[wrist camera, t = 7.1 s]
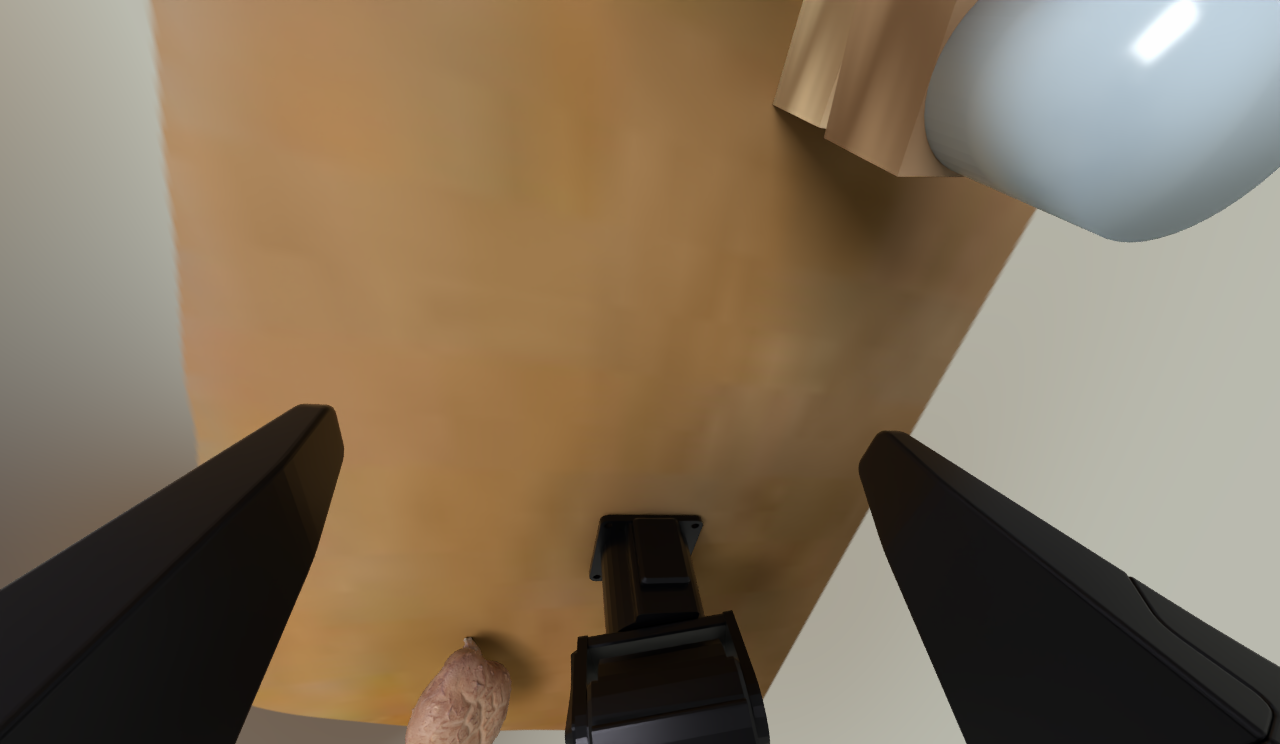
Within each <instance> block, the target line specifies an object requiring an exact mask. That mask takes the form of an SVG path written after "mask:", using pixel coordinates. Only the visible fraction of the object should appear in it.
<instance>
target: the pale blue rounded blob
mask: <svg viewBox="0 0 1280 744" xmlns="http://www.w3.org/2000/svg"><path fill="white" fill-rule="evenodd" d="M924 120H925V131H926V136H927V140H928V143H929V145H930V148H931V150H932V152H933V153H934V155H935V157H936V158H937V159H938V160H939V161H940V162H941V164H943V165H944V166H945V167H947V168H948V169H950V170H952V171H954V172H956V173H958V174H960V175H963V176H965V177H967V178H969V179H972V180H974V181H976V182H979V183H981V184H983V185H985V186H988V187H990V188H992V189H994V190H997V191H999V192H1001V193H1004V194H1006V195H1008V196H1010V197H1013V198H1015V199H1017V200H1020V201H1022V202H1024V203H1026V204H1029V205H1031V206H1033V207H1035V208H1038V209H1040V210H1042V211H1045V212H1047V213H1049V214H1052V215H1054V216H1056V217H1058V218H1060V219H1063V220H1065V221H1067V222H1070V223H1072V224H1074V225H1076V226H1079V227H1081V228H1084V229H1086V230H1088V231H1090V232H1092V233H1095V234H1097V235H1099V236H1102V237H1104V238H1106V239H1110V240H1114V241H1119V242H1141V241H1148V240H1153V239H1158V238H1161V237H1165V236H1168V235H1171V234H1174V233H1177V232H1179V231H1182V230H1184V229H1187V228H1189V227H1192V226H1194V225H1196V224H1198V223H1199V222H1202V221H1204V220H1206V219H1208V218H1209V217H1211V216H1213V215H1215V214H1216V213H1218V212H1220V211H1222V210H1223V209H1225V208H1226V207H1228V206H1230V205H1231V204H1232V203H1234V202H1236V201H1237V200H1238V199H1240V198H1242V197H1243V196H1244V195H1246V194H1247V193H1248V192H1249V191H1251V190H1252V189H1254V188H1255V187H1256V186H1258V185H1259V184H1260V183H1261V182H1263V181H1264V180H1265V179H1266V178H1267V177H1268V176H1270V175H1271V174H1272V173H1273V172H1274V171H1276V170H1277V169H1278V168H1279V167H1280V0H978V1H977V2H976V3H975V5H974V6H973V7H972V8H971V9H970V10H969V11H968V13H967V14H966V15H965V16H964V18H963V19H962V20H961V22H960V23H959V24H958V26H957V27H956V28H955V30H954V31H953V33H952V35H951V36H950V38H949V40H948V41H947V43H946V44H945V46H944V48H943V50H942V52H941V54H940V56H939V58H938V61H937V63H936V66H935V68H934V71H933V73H932V76H931V80H930V83H929V86H928V90H927V96H926V101H925V113H924Z"/></svg>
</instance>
